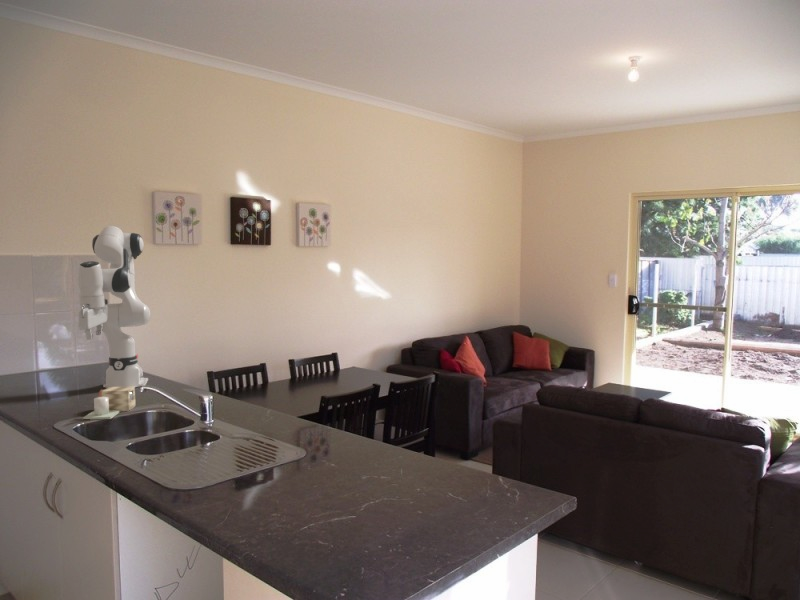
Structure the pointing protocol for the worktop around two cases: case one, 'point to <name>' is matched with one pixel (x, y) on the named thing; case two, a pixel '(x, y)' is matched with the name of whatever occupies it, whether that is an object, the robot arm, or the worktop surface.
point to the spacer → (101, 405)
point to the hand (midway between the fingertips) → (94, 337)
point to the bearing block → (120, 397)
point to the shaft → (102, 390)
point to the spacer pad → (107, 416)
